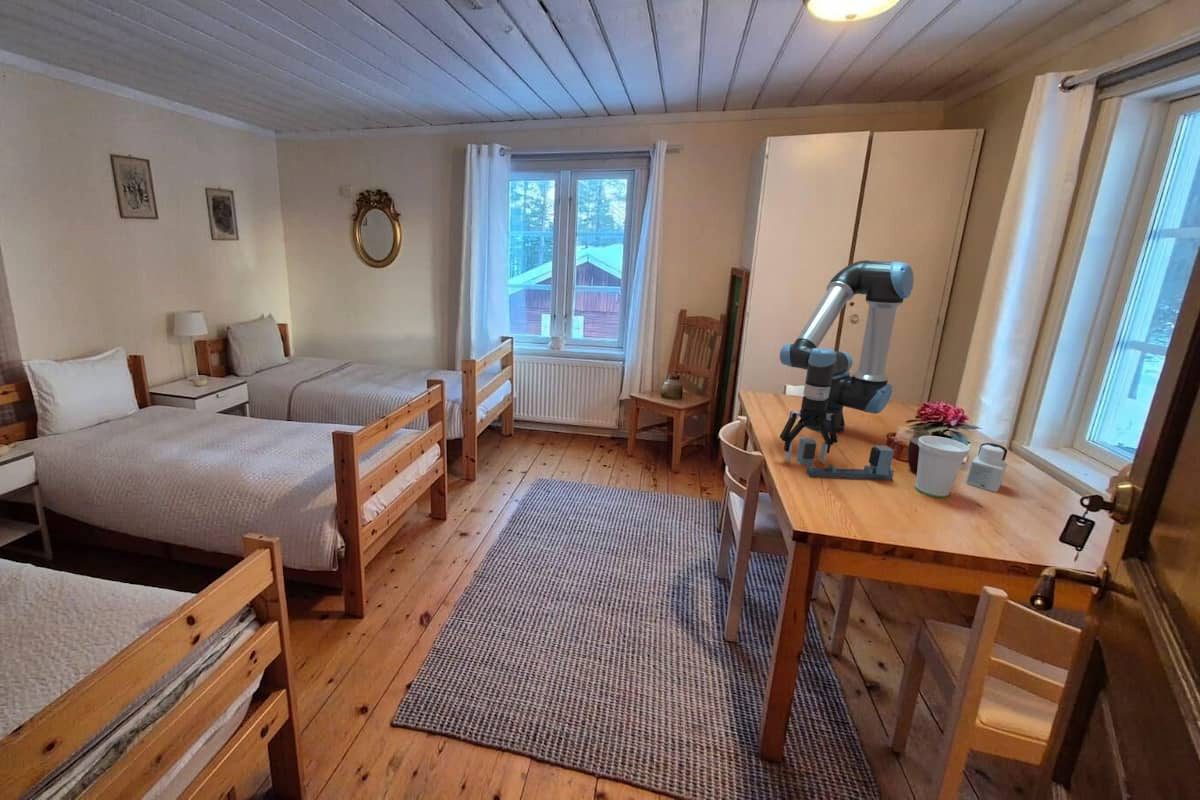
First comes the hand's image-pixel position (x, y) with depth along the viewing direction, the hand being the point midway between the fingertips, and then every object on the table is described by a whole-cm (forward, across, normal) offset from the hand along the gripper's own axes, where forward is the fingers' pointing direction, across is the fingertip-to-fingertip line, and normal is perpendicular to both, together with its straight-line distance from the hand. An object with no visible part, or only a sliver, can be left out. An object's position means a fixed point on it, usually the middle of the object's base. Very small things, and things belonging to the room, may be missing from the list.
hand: (804, 461), depth 167 cm
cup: (+1, +31, -18) cm, 36 cm away
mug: (+1, +35, -5) cm, 35 cm away
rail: (0, +10, -10) cm, 14 cm away
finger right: (+1, 0, 0) cm, 1 cm away
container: (+1, +51, -12) cm, 52 cm away
